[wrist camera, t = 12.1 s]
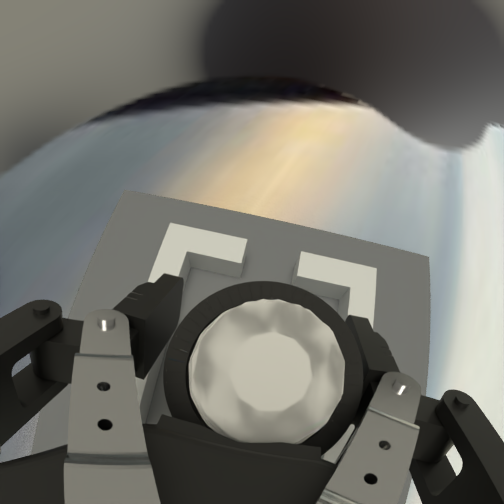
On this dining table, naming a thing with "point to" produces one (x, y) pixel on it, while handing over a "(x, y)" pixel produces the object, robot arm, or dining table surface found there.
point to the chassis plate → (247, 270)
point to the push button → (265, 366)
